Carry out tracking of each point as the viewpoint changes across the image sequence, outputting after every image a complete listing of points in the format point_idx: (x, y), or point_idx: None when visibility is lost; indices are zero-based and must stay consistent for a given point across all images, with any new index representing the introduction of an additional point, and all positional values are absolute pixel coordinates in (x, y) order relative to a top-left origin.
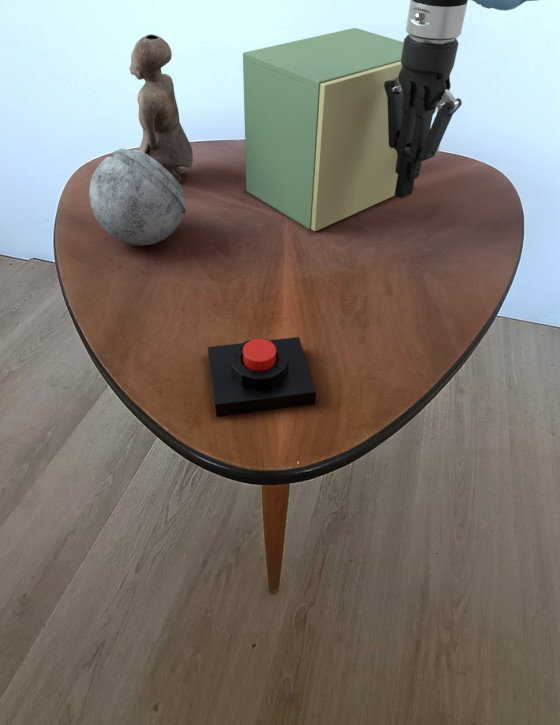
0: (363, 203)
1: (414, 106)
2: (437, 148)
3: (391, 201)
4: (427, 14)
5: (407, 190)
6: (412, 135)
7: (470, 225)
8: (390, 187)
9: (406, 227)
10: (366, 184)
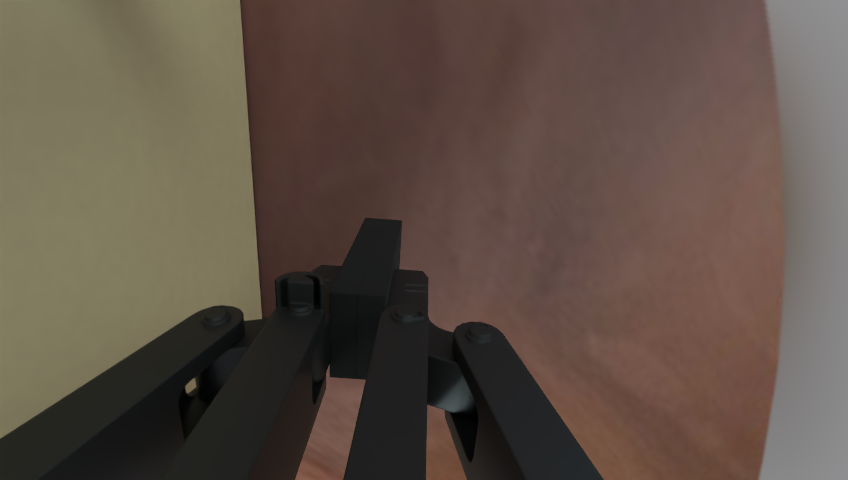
0: (245, 220)
1: None
2: (523, 365)
3: (265, 78)
4: None
5: (398, 260)
6: (297, 396)
7: (575, 3)
8: (225, 73)
9: (417, 190)
10: (211, 241)
